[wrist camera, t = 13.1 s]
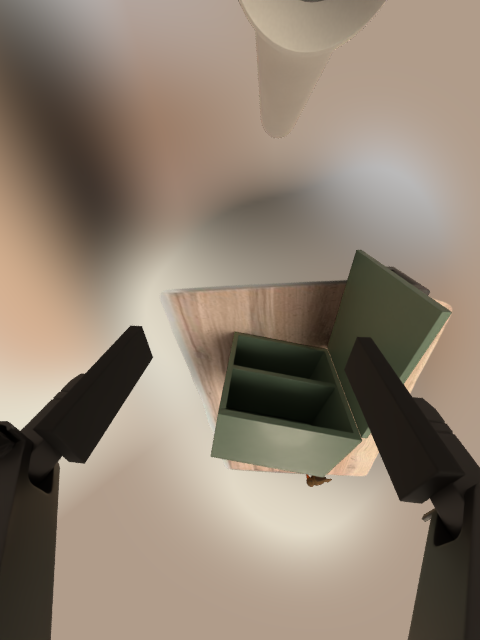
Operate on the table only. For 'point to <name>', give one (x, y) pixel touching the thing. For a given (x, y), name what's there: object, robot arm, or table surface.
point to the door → (383, 322)
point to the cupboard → (283, 408)
